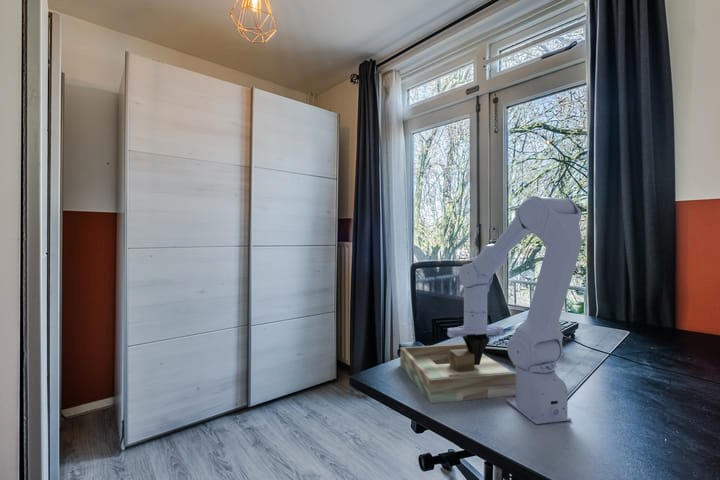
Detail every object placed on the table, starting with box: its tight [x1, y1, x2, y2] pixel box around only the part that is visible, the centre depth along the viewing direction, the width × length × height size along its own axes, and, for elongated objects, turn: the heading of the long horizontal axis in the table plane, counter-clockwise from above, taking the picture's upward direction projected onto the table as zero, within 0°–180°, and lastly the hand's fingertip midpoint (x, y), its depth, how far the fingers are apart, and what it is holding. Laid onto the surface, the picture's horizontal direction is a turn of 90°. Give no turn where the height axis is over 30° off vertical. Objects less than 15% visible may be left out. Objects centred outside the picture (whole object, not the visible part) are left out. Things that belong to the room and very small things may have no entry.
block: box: [450, 349, 474, 372], centre depth 85 cm, size 4×4×4 cm
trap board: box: [399, 342, 516, 404], centre depth 84 cm, size 22×24×5 cm
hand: (475, 363), depth 85 cm, fingers closed
